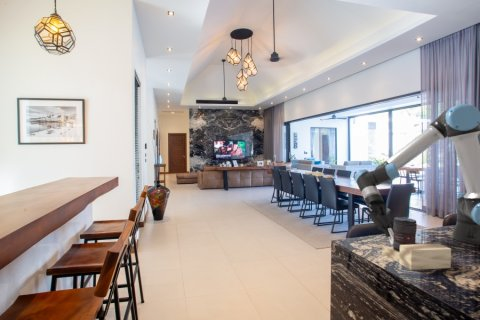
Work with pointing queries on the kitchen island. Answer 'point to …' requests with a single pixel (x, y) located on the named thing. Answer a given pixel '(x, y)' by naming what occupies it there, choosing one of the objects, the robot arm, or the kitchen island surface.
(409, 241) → the camera lens
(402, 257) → the cradle
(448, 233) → the kitchen island surface
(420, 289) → the kitchen island surface
